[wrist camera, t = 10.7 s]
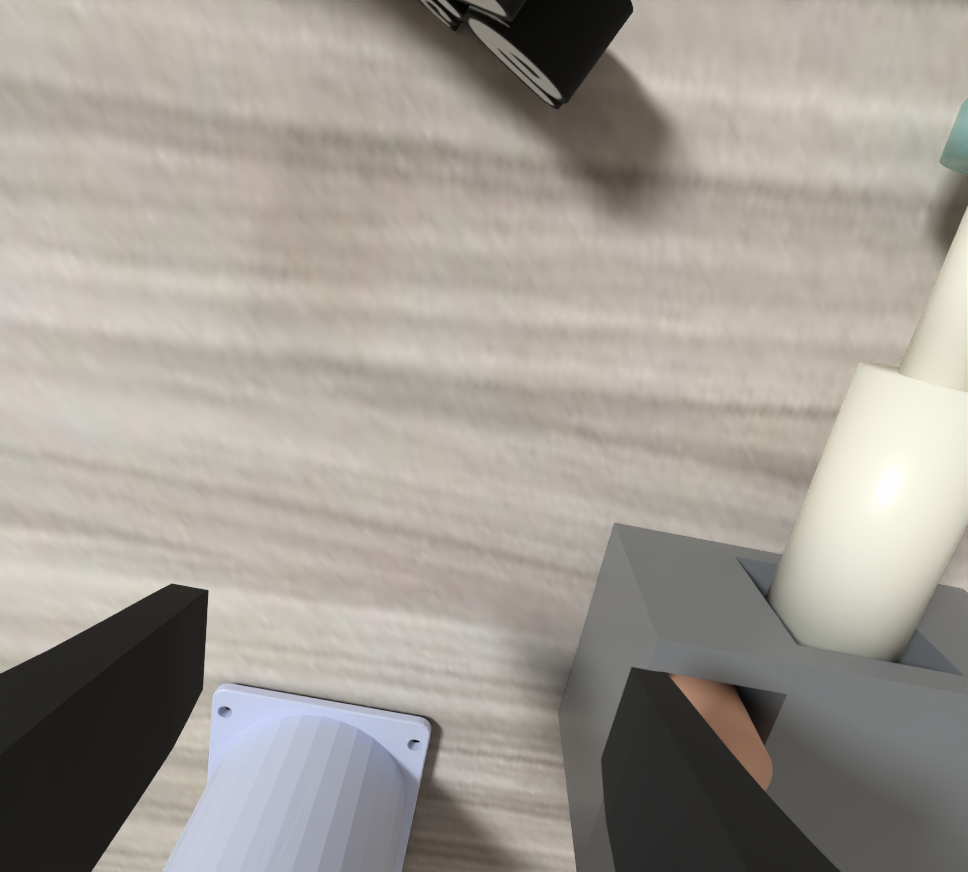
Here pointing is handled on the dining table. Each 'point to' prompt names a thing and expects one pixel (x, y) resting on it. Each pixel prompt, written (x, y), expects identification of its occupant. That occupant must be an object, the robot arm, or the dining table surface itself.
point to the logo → (541, 37)
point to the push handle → (888, 482)
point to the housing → (781, 703)
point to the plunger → (729, 723)
